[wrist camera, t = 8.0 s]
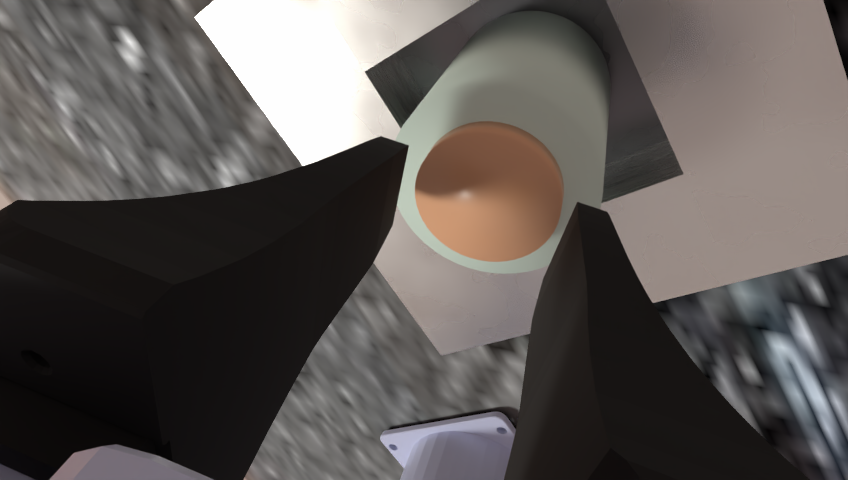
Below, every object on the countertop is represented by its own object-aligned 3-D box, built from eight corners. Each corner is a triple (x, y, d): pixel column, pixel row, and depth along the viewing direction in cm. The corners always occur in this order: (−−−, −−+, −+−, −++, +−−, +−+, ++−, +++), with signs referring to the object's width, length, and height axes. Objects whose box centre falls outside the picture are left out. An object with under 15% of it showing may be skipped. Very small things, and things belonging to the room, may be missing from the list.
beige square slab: (849, 170, 17) (896, 242, 14) (466, 290, 25) (441, 355, 21) (681, -353, 12) (696, -419, 9) (265, -11, 20) (194, 17, 17)
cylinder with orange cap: (566, 185, 19) (542, 317, 14) (433, 128, 19) (360, 238, 14) (642, 49, 16) (648, 154, 11) (483, -16, 16) (414, 56, 11)
